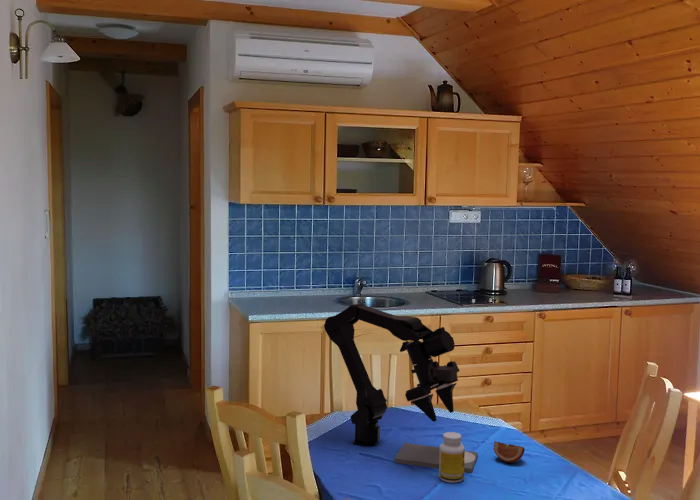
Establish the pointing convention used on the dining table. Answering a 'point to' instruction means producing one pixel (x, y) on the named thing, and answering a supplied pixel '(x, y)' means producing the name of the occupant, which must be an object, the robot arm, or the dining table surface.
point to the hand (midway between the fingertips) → (443, 416)
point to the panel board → (429, 456)
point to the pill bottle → (451, 458)
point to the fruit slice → (508, 452)
